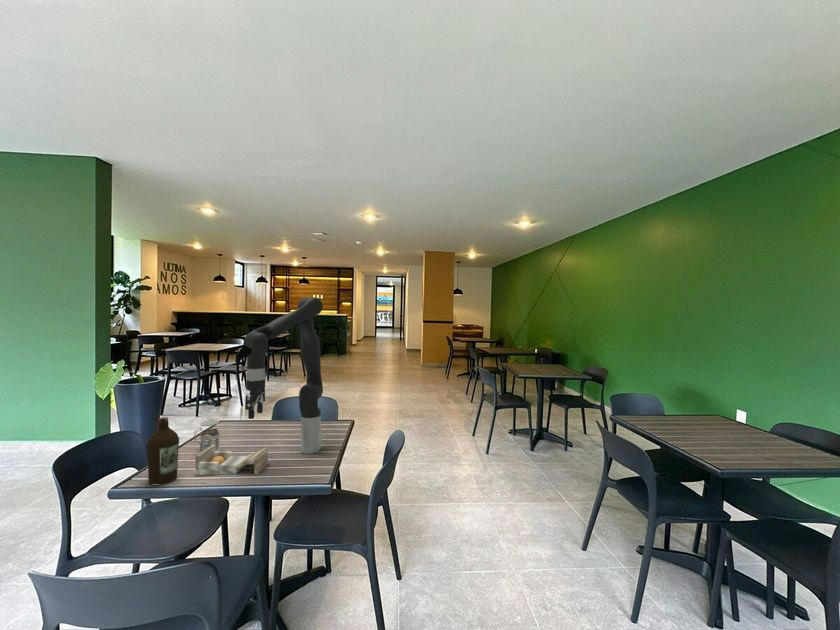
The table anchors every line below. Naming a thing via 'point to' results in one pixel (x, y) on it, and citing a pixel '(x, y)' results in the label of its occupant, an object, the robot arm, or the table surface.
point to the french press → (211, 432)
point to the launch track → (228, 462)
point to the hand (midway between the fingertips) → (255, 415)
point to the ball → (218, 459)
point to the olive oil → (162, 454)
